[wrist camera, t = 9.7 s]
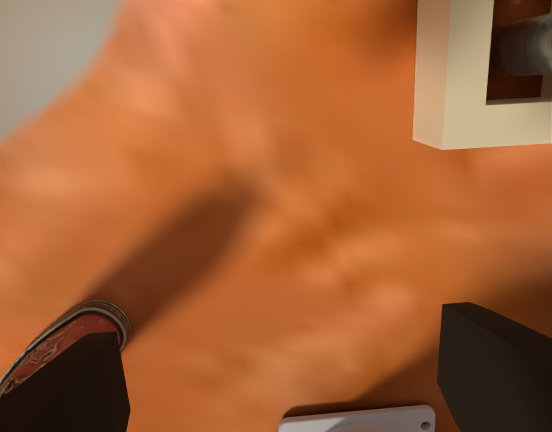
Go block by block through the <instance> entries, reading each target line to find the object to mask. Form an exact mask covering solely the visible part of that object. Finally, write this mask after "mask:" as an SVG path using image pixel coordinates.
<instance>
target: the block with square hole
mask: <svg viewBox="0 0 552 432" xmlns="http://www.w3.org/2000/svg"><path fill="white" fill-rule="evenodd" d="M493 6H494V0H418V10H417V37H416V64H415V91H414V119H413V140H414V141H417V142H420V143H423V144H426V145H429V146H432V147H435V148H438V149H441V150H448V149H464V148H480V147H496V146H513V145H529V144H545V143H552V75H543V78H542V86H541V95H540V97H532V98H514V99H496V100H486V93H487V80H488V68H489V56H490V43H491V31H492V19H493ZM550 13H552V0H551V8H550Z"/></svg>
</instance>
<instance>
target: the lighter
mask: <svg viewBox="0 0 552 432" xmlns="http://www.w3.org/2000/svg"><path fill="white" fill-rule="evenodd" d="M113 331H117V337H118V342H119V348H120V351H121V350H122V349H123V347H124V344H125V342H126V340H127V338H128V335H129V333H130V323H129V320H128V318H127V316H126V314H125V313H124V312H123V311H122V310H121V309H120V308H119V307H117V306H116V305H114V304H112V303H111V302H107V301H103V300H90V301H88V302H85V303H83V304H81V305H80V306H78V307H77V308H75V309H74V310H72V311H71V312H69V313H68V314H66V315H64V316H63V317H61V318H60V319H58V320H57V321H56V322H54V323H53V324H52V325H51V326H50V327H48V328H47V329H46V330H45V331H44V332H43V333H41V334H40V335H39V336H38V337H37V338H35V339H34V340H33V341H32V342H31V343H30V344H29V346H28V347H27V348H26V349H25V350H24V351H23V353H22V354H21V355H20V356H19V357H18V358H17V360H16V361H15V362H14V363H13V364H12V365H11V367H10V368H9V369H8V370H7V372H6V373H5V374H4V375H3V377H2V378H1V380H0V398H2V397H3V396H5V395H6V394H7V393H9V392H10V391H12V390H13V389H14V388H16V387H17V386H18V385H19V384H21V383H22V382H23V381H25V380H26V379H27V378H29V377H30V376H31V375H33V374H34V373H35V372H37V371H38V370H39V369H40V368H42V367H43V366H44V365H46V364H47V363H48V362H50V361H51V360H52V359H53V358H55V357H56V356H57V355H59V354H60V353H61V352H63V351H64V350H65V349H66V348H68V347H69V346H70V345H72V344H73V343H75V342H76V341H77V340H79V339H80V338H82V337H83V336H85V335H86V334H89V333H101V332H113Z"/></svg>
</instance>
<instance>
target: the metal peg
mask: <svg viewBox="0 0 552 432" xmlns="http://www.w3.org/2000/svg"><path fill="white" fill-rule="evenodd" d="M488 75H491V76H522V75H552V13H549V14H545V15H540V16H536V17H532V18H527V19H523V20H518V21H514V22H510V23H505V24H501V25H497V26H494V27H492V31H491V43H490V56H489V68H488Z"/></svg>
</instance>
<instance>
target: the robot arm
mask: <svg viewBox="0 0 552 432" xmlns="http://www.w3.org/2000/svg"><path fill="white" fill-rule="evenodd" d="M437 382H438V385H439V387H440V389H441V392H442V394H443V396H444V398H445V401H446V403H447V405H448V407H449V409H450V411H451V413H452V416H453V418H454V420H455V422H456V424H457V425H458V427H459V429H460V430H461V432H552V338H549V337H547V336H545V335H543V334H541V333H539V332H536V331H534V330H532V329H530V328H528V327H526V326H523V325H521V324H519V323H517V322H515V321H513V320H511V319H508V318H506V317H504V316H502V315H500V314H497V313H495V312H493V311H491V310H488V309H486V308H484V307H481V306H479V305H476V304H473V303H470V302H464V303H452V304H442V318H441V332H440V347H439V361H438V375H437ZM129 415H130V404H129V399H128V393H127V387H126V382H125V376H124V370H123V365H122V359H121V354H120V348H119V342H118V337H117V331H113V332H101V333H89V334H86V335H85V336H83V337H82V338H80V339H79V340H77V341H76V342H75V343H73V344H72V345H70V346H69V347H68V348H66V349H65V350H64V351H63V352H61V353H60V354H59V355H57V356H56V357H55V358H53V359H52V360H51V361H50V362H48V363H47V364H46V365H44V366H43V367H42V368H40V369H39V370H38V371H37V372H35V373H34V374H33V375H31V376H30V377H29V378H27V379H26V380H25V381H23V382H22V383H21V384H19V385H18V386H17V387H16V388H14V389H13V390H12V391H10V392H9V393H7V394H6V395H5V396H3V397H2V398H0V432H126V430H127V425H128V420H129ZM423 422H426V423H425V424H423V425H422V423H423ZM278 429H279V432H434V431H435V412H434V411H433V409H432V408H431V407H430V406H428V405H416V406H405V407H395V408H384V409H373V410H362V411H351V412H340V413H329V414H318V415H308V416H297V417H287V418H284V419H282V420H281V421H280V422H279V426H278Z"/></svg>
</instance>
